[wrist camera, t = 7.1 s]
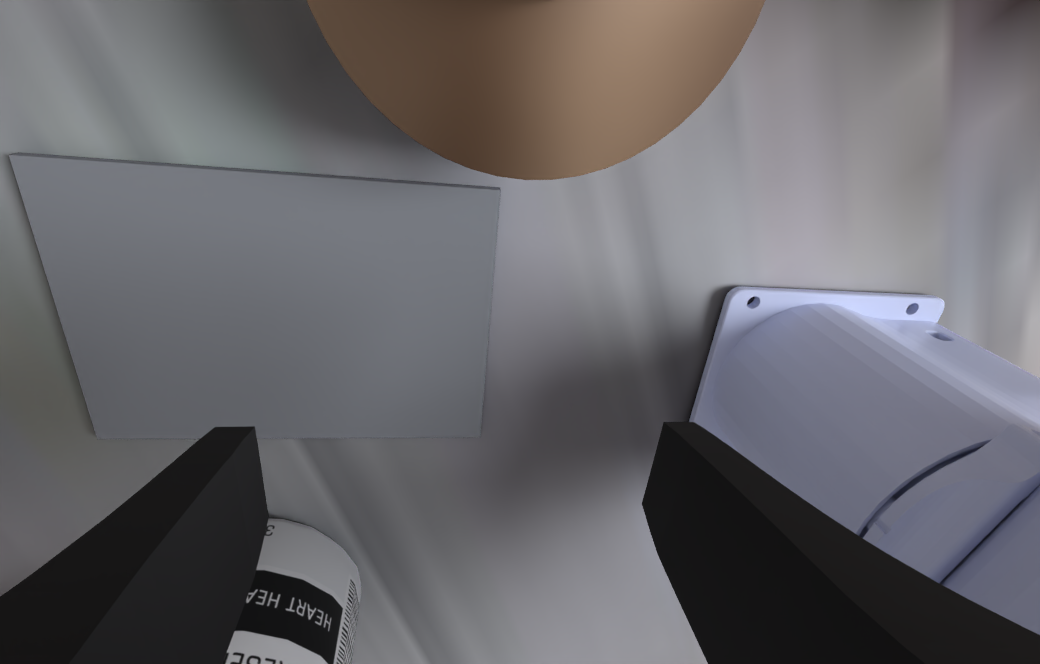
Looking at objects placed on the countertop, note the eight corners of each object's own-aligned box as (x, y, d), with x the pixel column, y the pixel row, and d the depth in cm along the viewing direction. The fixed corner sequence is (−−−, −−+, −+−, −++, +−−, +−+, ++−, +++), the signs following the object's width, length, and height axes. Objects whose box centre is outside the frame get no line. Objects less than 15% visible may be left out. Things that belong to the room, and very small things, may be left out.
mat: (499, 187, 18) (500, 190, 17) (479, 431, 22) (480, 437, 22) (18, 152, 15) (8, 154, 15) (103, 432, 20) (97, 439, 20)
